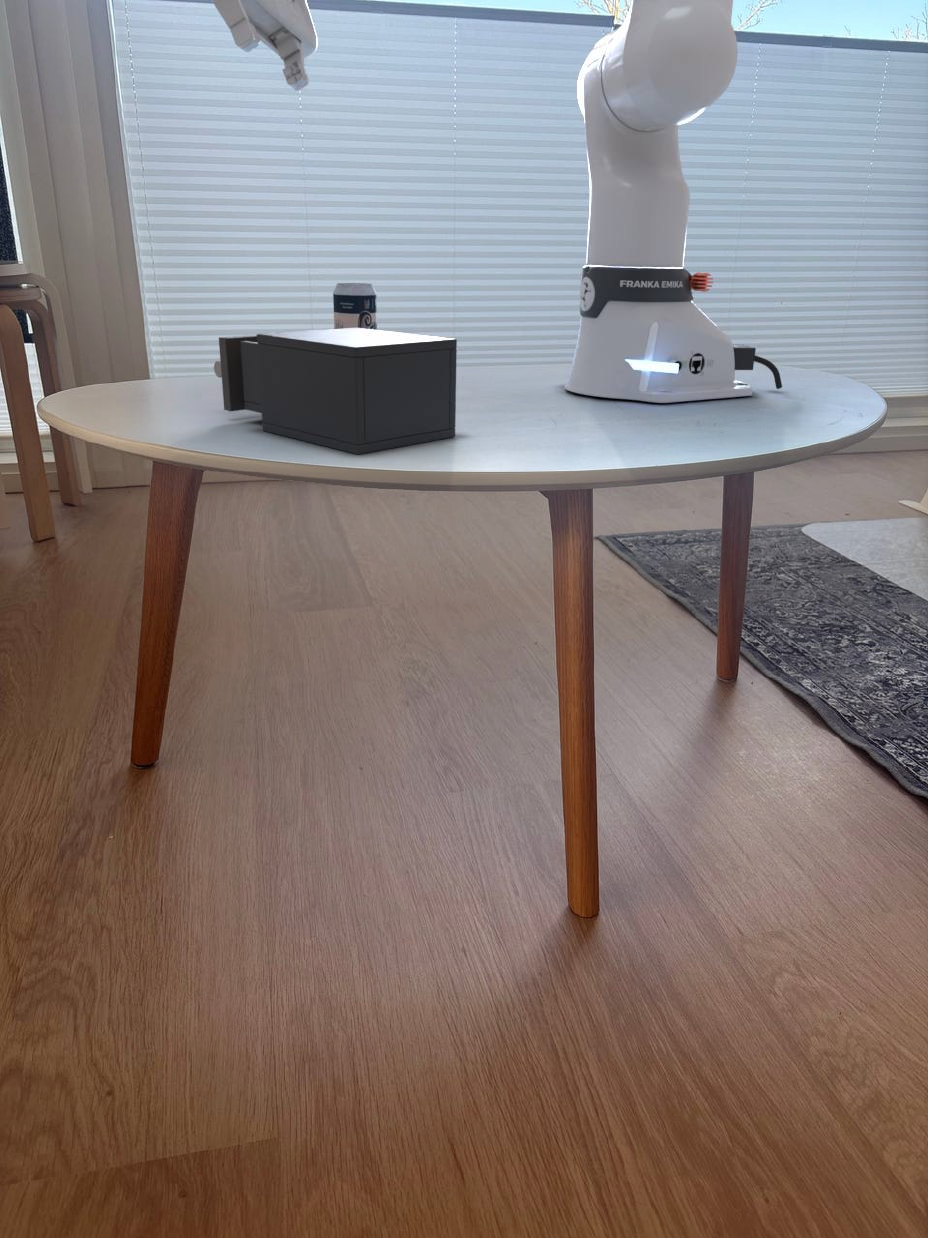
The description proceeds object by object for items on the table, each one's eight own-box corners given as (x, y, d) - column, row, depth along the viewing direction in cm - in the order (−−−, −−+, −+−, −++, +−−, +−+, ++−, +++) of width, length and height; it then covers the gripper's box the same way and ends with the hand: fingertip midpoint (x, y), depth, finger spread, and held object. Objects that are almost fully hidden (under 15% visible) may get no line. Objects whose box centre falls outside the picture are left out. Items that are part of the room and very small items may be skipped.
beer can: (375, 399, 104) (374, 285, 99) (333, 398, 104) (329, 284, 99) (380, 392, 108) (378, 283, 104) (339, 391, 108) (336, 282, 104)
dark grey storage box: (262, 430, 86) (256, 333, 83) (359, 416, 94) (356, 327, 90) (357, 454, 77) (355, 347, 74) (455, 436, 85) (457, 338, 82)
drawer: (201, 404, 93) (195, 333, 90) (286, 394, 100) (283, 328, 97) (302, 428, 82) (298, 349, 80) (389, 415, 89) (388, 341, 87)
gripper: (183, -166, 76) (243, -3, 77) (302, -42, 96) (349, 88, 96) (125, -121, 79) (184, 37, 79) (252, -8, 98) (299, 119, 98)
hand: (275, 66), depth 88 cm, fingers open, 8 cm apart
